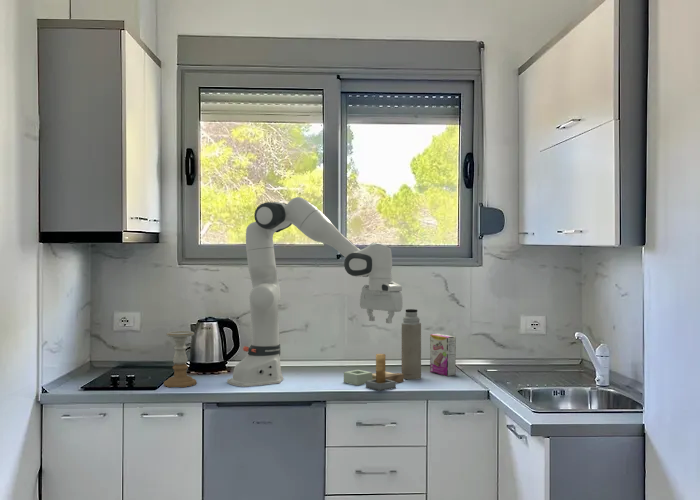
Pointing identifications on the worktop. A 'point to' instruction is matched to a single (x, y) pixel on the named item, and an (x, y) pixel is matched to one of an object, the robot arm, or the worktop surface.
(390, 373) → the tan wooden block
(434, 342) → the candy bar box
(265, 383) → the robot arm
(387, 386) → the tray
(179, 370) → the candle holder
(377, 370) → the dowel
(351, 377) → the socket block
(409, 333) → the thermos bottle
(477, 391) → the worktop surface
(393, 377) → the bar
